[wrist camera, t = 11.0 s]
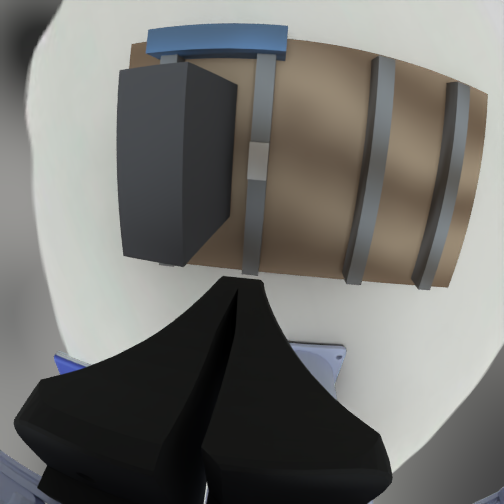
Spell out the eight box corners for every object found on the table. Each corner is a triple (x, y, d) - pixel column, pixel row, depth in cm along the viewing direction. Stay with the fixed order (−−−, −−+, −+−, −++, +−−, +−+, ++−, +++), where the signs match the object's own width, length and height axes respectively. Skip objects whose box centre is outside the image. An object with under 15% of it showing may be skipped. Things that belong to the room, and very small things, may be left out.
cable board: (443, 282, 20) (462, 305, 17) (136, 252, 21) (116, 273, 18) (481, 94, 14) (509, 94, 11) (136, 46, 15) (112, 36, 12)
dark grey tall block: (229, 216, 18) (183, 267, 12) (184, 211, 19) (123, 255, 12) (237, 85, 15) (188, 61, 9) (188, 85, 15) (119, 70, 9)
